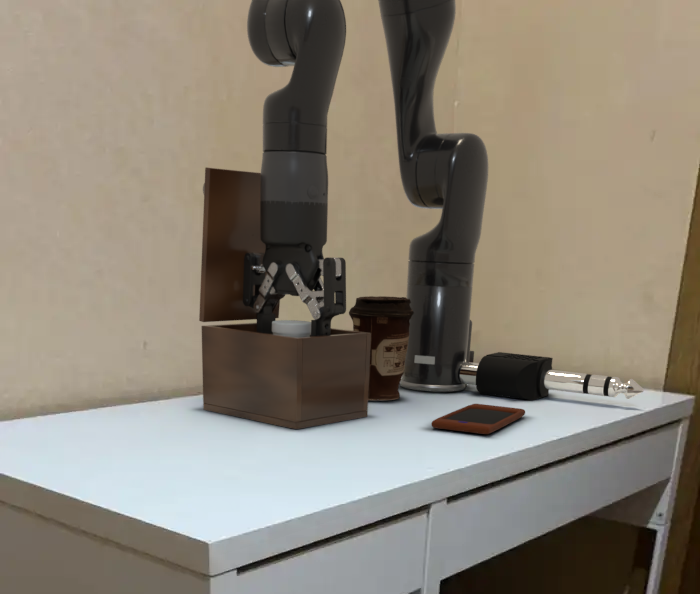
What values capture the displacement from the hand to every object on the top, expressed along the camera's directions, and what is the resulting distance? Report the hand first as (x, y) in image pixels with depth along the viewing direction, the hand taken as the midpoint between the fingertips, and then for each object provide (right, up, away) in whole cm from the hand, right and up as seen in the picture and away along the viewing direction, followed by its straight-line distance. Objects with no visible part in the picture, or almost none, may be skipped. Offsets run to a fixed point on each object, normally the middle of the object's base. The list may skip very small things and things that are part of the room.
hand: (292, 349), depth 110 cm
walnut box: (-1, -7, +3) cm, 8 cm away
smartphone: (+22, -8, +2) cm, 24 cm away
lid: (-5, +12, 0) cm, 13 cm away
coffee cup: (+11, -2, +16) cm, 20 cm away
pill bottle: (0, -6, +3) cm, 7 cm away
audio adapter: (+35, -1, +22) cm, 41 cm away
